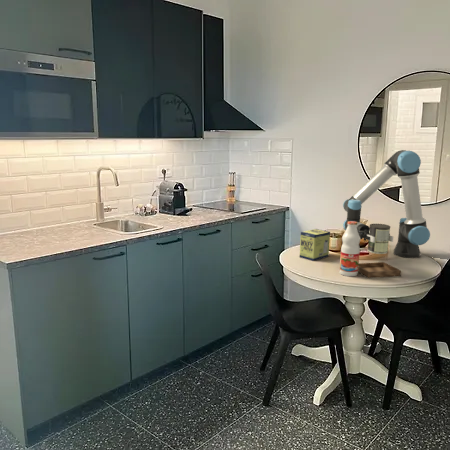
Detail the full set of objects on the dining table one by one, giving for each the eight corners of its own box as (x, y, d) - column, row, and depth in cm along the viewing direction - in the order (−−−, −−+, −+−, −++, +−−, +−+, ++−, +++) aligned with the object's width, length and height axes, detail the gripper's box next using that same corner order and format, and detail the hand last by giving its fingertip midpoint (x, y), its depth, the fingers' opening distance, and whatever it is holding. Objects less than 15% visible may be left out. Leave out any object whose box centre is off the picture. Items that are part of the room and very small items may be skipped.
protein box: (298, 257, 268) (300, 231, 265) (314, 253, 278) (316, 228, 275) (313, 261, 261) (314, 235, 257) (329, 256, 271) (330, 231, 268)
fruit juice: (357, 272, 242) (361, 220, 236) (357, 277, 233) (362, 224, 227) (339, 270, 244) (343, 219, 238) (339, 275, 235) (342, 222, 229)
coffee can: (364, 251, 239) (366, 225, 236) (371, 248, 246) (374, 222, 244) (383, 255, 232) (386, 228, 229) (390, 251, 240) (393, 225, 237)
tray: (383, 267, 251) (384, 261, 251) (400, 276, 236) (401, 270, 236) (352, 268, 247) (352, 263, 247) (367, 278, 232) (368, 272, 231)
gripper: (378, 236, 258) (401, 245, 237) (342, 237, 253) (363, 247, 232) (379, 223, 257) (403, 232, 236) (343, 224, 252) (364, 233, 230)
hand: (383, 239), depth 234 cm, fingers closed on coffee can, 10 cm apart
